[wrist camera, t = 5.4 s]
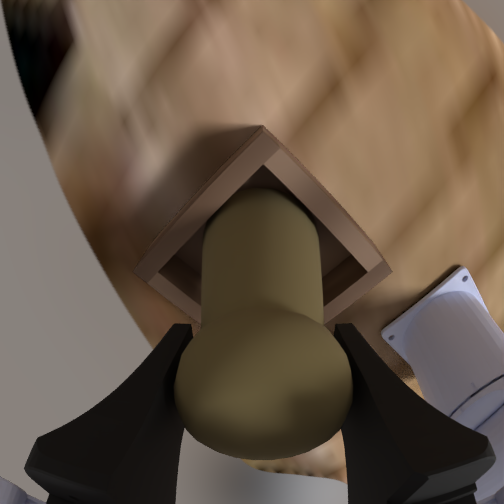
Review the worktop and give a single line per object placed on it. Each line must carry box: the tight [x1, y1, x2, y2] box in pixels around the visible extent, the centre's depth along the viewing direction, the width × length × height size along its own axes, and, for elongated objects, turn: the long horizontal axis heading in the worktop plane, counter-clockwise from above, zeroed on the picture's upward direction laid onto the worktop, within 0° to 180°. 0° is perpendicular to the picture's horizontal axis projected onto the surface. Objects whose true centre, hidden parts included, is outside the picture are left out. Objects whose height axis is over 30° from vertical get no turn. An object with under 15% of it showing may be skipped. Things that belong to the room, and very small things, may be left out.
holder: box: [133, 125, 393, 325], centre depth 18 cm, size 10×10×4 cm
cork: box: [174, 188, 353, 460], centre depth 12 cm, size 6×6×11 cm
